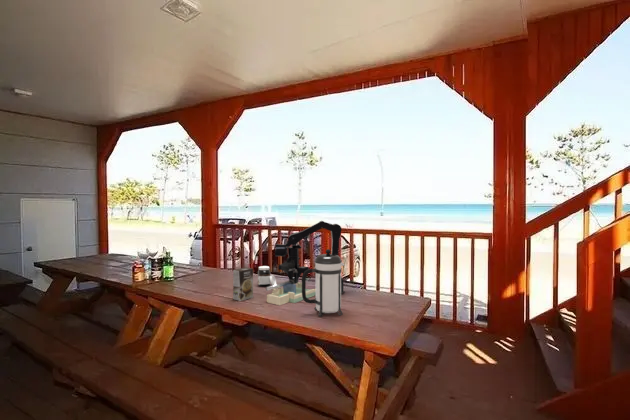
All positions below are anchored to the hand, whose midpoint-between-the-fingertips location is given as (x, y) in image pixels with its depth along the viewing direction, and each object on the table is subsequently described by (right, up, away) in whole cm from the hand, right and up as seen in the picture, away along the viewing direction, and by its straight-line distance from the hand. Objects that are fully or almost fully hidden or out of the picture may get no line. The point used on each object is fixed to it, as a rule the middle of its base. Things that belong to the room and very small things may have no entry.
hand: (293, 283), depth 188 cm
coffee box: (-27, -6, -9) cm, 29 cm away
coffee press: (+17, -7, -34) cm, 39 cm away
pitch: (-1, -6, -9) cm, 11 cm away
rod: (-4, -4, -9) cm, 10 cm away
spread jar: (-18, -6, +19) cm, 27 cm away
